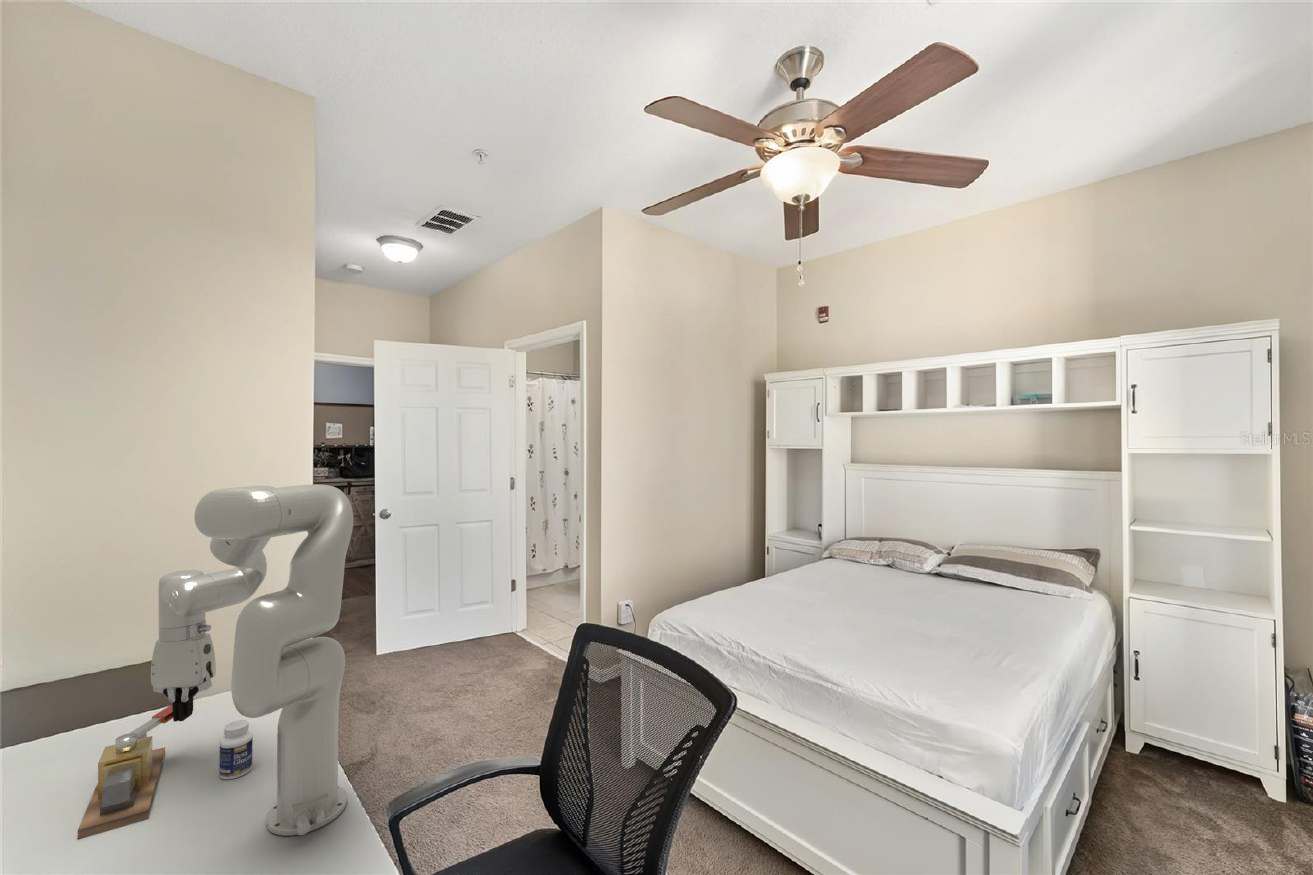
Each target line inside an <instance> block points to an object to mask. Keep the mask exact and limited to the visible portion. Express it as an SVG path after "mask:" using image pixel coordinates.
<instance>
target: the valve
mask: <svg viewBox="0 0 1313 875" xmlns="http://www.w3.org/2000/svg"><path fill="white" fill-rule="evenodd" d="M152 750H153V736H148V732H147V733H145V734H144V735H142V736H141V737H139V738H137V746H136V747H134V748H133V749H130V750H127V751H123V752H116V743H115V744H112V745H107V746H104V749H103V751H102V753H101V755H100V758H99V760H98V762H97V784H98V800H99V799H102V802H101V805H100V816H101V815H104V814H108V813H112V812H115V811H119V810H122V809H126V808H129V807H133V806H134V804H135V800H136V789H140V788H144V787H147V786H148V783H149V780H150V776H151V773H152ZM133 790H134V791H133Z"/></svg>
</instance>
